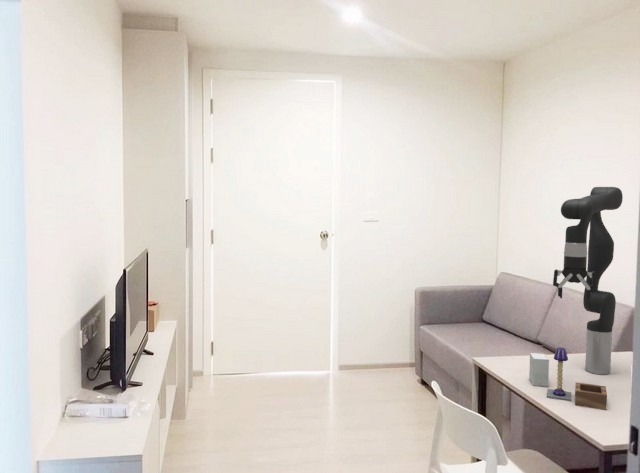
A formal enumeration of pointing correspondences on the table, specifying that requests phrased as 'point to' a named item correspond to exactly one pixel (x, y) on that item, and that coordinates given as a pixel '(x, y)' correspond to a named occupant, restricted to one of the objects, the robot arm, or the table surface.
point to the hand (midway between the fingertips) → (573, 298)
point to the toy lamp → (560, 370)
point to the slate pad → (551, 395)
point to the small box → (539, 369)
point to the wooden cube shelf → (591, 396)
